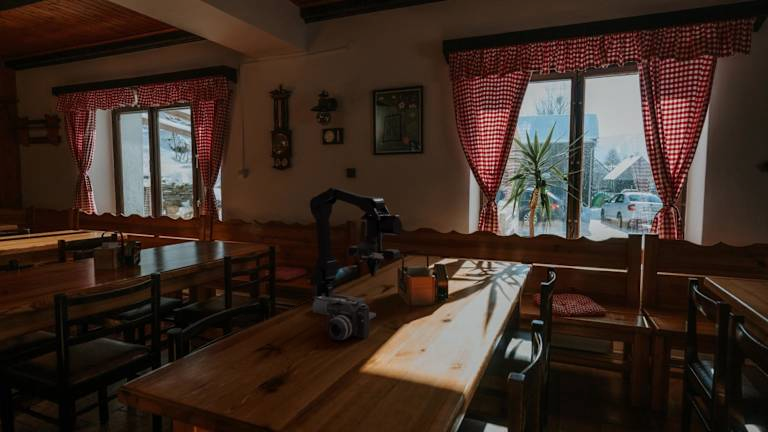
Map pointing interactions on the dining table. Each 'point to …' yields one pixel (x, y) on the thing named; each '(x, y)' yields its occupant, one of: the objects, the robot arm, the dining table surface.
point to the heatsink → (325, 302)
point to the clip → (356, 300)
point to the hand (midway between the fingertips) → (373, 276)
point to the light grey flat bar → (333, 299)
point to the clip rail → (371, 315)
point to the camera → (347, 320)
